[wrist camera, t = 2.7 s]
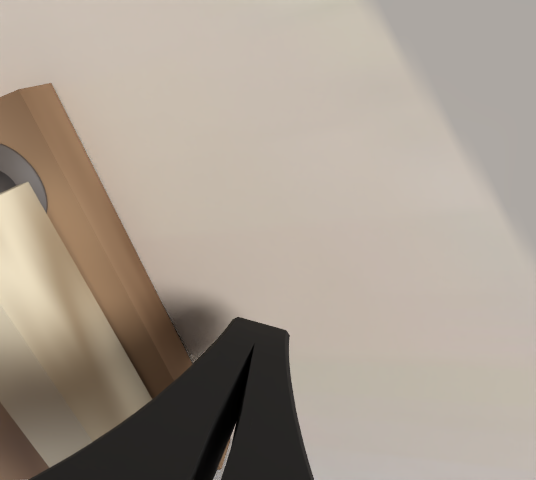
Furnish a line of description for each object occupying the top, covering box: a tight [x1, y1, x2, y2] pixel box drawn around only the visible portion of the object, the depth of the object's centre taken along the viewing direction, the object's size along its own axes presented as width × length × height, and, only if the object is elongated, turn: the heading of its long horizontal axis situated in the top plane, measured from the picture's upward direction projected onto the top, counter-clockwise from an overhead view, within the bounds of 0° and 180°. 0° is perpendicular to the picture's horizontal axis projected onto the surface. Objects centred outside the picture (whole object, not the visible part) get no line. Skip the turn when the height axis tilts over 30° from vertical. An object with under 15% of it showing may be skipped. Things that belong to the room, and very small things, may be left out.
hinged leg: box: [0, 171, 152, 468], centre depth 11 cm, size 9×2×3 cm, turn 19°
